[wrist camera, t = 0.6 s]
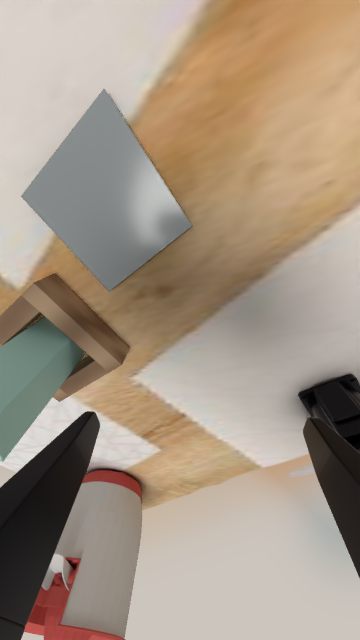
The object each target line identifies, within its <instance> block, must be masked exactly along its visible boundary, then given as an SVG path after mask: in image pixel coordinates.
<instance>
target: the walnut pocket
mask: <svg viewBox="0 0 360 640" xmlns="http://www.w3.org/2000/svg"><path fill="white" fill-rule="evenodd" d="M42 314H43V315H44V316H45V317H46V318H48V319H49V320H50V321H51V322H52V323H53V324H54V325H55V326H57V327H58V328H59V329H60V330H61V331H62V332H63V333H65V334H66V335H67V336H68V337H69V338H70V339H71V340H72V341H74V342H75V343H76V344H77V345H78V346H79V347H80V348H82V349H83V350H84V351H85V352H86V353H87V354H88V355H89V356H88V357H86V358H85V359H83V360H82V361H80V362H79V363H78V364H77V366H76V367H75V368H74V369H73V371H72V372H71V373H70V375H69V376H68V377H67V379H66V380H65V381H64V382H63V384H62V385H61V386H60V388H59V389H58V390H57V392H56V393H55V394H54V396H53V398H55V399H56V400H58V401H59V402H60V401H62V400H63V399H65V398H67V397H68V396H70V395H72V394H73V393H75V392H77V391H78V390H80V389H82V388H84V387H85V386H87V385H89V384H90V383H92V382H94V381H95V380H97V379H99V378H100V377H102V376H104V375H106V374H107V373H109V372H111V371H112V370H114V369H116V368H117V367H119V366H121V365H122V363H123V361H124V359H125V357H126V355H127V353H128V351H129V349H130V347H129V346H128V345H127V344H126V343H125V342H124V341H122V340H121V339H120V338H119V337H118V336H117V335H116V334H115V333H114V332H113V331H112V330H111V329H110V328H109V327H108V326H107V325H106V324H105V323H104V322H103V321H102V320H101V319H100V318H99V317H98V316H97V315H96V314H95V313H94V312H93V311H92V310H91V309H90V308H89V307H88V306H87V305H86V304H85V303H84V302H83V301H82V300H81V299H80V298H79V297H78V296H77V295H76V294H75V293H74V292H73V291H72V290H71V289H70V288H69V287H68V286H67V285H66V284H65V283H64V282H63V281H62V280H61V279H60V278H59V277H58V276H57V275H56V274H52V275H50V276H48V277H46V278H43V279H41V280H39V281H37V282H35V283H33V284H32V285H31V286H30V287H29V288H28V289H27V290H26V291H25V292H24V293H23V294H22V295H21V296H20V297H19V298H18V299H17V300H16V301H15V302H14V303H13V304H12V305H11V306H10V307H9V308H8V309H7V310H6V311H5V312H4V313H3V314H2V315H1V316H0V347H2V346H3V345H4V344H6V343H7V342H9V341H10V340H12V339H13V338H14V337H16V336H17V335H19V334H20V333H21V332H23V331H24V329H26V328H27V327H28V326H29V325H30V324H31V323H32V322H34V321H35V320H36V319H37V318H38V317H39V316H40V315H42Z"/></svg>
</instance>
